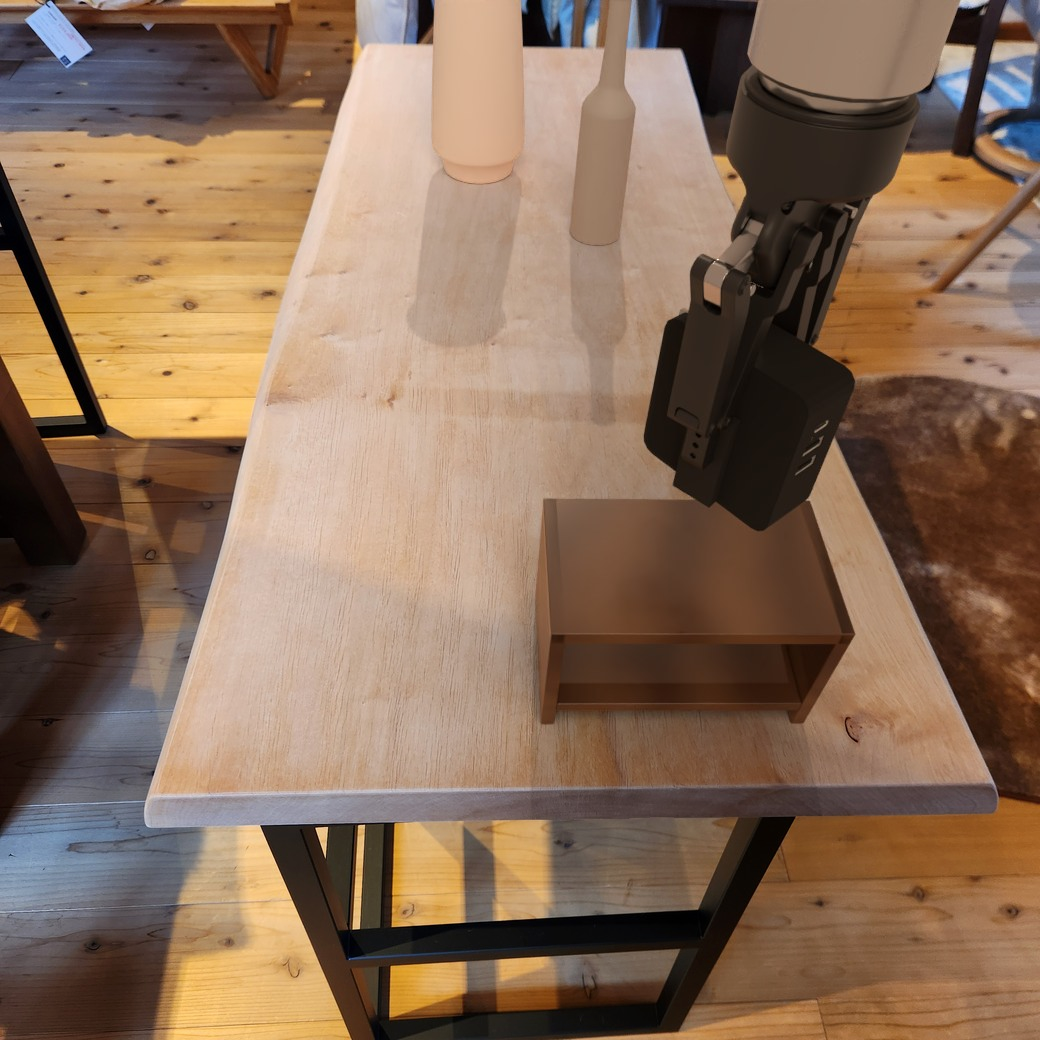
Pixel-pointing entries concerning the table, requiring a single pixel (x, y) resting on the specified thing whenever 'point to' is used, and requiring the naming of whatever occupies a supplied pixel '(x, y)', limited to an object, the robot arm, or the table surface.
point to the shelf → (683, 609)
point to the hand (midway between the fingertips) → (718, 470)
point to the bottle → (605, 141)
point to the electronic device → (762, 423)
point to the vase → (478, 88)
